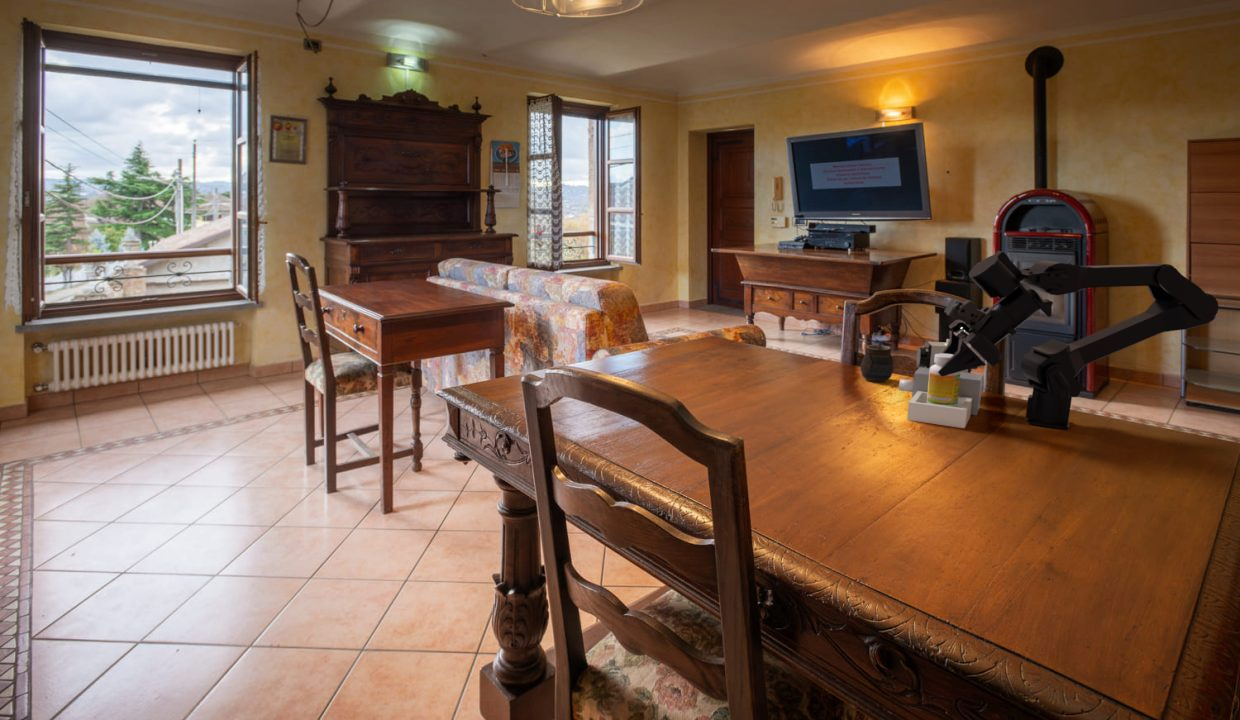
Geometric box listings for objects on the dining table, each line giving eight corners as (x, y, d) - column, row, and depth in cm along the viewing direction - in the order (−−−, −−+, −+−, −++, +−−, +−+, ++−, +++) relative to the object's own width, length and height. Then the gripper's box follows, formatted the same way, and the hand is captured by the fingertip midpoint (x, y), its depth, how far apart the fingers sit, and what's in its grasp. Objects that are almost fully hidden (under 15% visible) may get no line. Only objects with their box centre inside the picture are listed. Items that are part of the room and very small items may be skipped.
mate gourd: (887, 376, 169) (890, 336, 167) (897, 384, 161) (900, 341, 159) (856, 376, 169) (859, 335, 167) (865, 384, 162) (868, 341, 160)
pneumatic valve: (975, 397, 150) (981, 342, 148) (917, 394, 153) (922, 340, 150) (968, 391, 156) (974, 337, 153) (912, 387, 158) (917, 335, 156)
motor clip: (979, 408, 142) (983, 374, 141) (970, 429, 128) (974, 392, 127) (901, 397, 150) (904, 365, 148) (885, 416, 136) (888, 381, 135)
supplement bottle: (958, 409, 132) (963, 359, 130) (927, 407, 134) (931, 357, 132) (956, 402, 137) (960, 353, 135) (926, 399, 139) (930, 351, 136)
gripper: (964, 278, 138) (901, 332, 143) (987, 289, 120) (914, 350, 125) (1004, 319, 138) (939, 371, 143) (1034, 336, 120) (958, 395, 125)
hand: (937, 371), depth 134 cm, fingers closed on supplement bottle, 5 cm apart
